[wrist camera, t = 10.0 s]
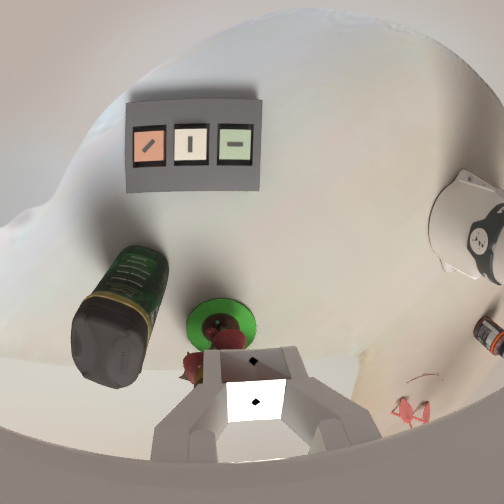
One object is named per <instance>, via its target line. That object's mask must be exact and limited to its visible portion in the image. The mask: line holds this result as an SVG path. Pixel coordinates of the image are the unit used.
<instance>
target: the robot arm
mask: <svg viewBox="0 0 504 504" xmlns="http://www.w3.org/2000/svg"><path fill="white" fill-rule="evenodd" d="M468 178H469V179H468ZM429 238H430V243H431V246H432V248H433V250H434V252H435V253H436V255H437V256H438V257H439V258H440V260H441V263H442V267H443V270H444V271H445V272H447V273H451V272H454V271H457V270H458V271H459V272H461V273H463V274H465V275H467V276H469V277H471V278H473V279H477V278H479V277H482V276H484V277H485V278H486V279H487V280H489V281H490V282H492V283H495V284H497V285H503V286H504V190H502V189H499V188H497V189H496V188H495V187H493V186H492V185H490V184H488V183H487V182H485V181H484V180H482V179H480V178H479V177H477V176H476V175H474V174H472V173H471V172H469V171H467V170H464V169H463V170H461V171H460V172H459V174H458V175H457V177H456V179H455V181H454V182H453V183H452V184H450V185H449V186H448V187H446V188H445V189H444V190H443V191H442V193H441V194H440V195H439V197H438V198H437V200H436V202H435V204H434V207H433V210H432V213H431V217H430V223H429ZM220 357H221V359H220ZM274 418H281V420H282V421H283V422H284V423H285V424H286V425H287V426H288V427H289V428H291V429H292V430H293V431H294V432H295V433H296V434H297V435H298V436H299V437H300V438H301V439H302V440H303V441H305V442H306V443H307V444H308V445H309V446H310V450H309V453H308V455H303V456H296V457H289V458H281V459H272V460H261V461H249V462H231V463H218V456H217V447H216V441H217V440H218V438H219V437H220V435H221V434H222V432H223V431H224V429H225V428H226V426H227V424H228V422H230V421H244V420H254V419H255V420H258V419H274ZM0 504H504V387H503V388H501V389H500V390H498V391H496V392H494V393H492V394H490V395H488V396H486V397H485V398H483V399H481V400H479V401H477V402H475V403H472V404H470V405H468V406H466V407H464V408H462V409H460V410H457V411H455V412H453V413H450V414H448V415H446V416H443V417H441V418H438V419H436V420H433V421H431V422H428V423H426V424H423V425H420V426H417V427H415V428H412V429H409V430H406V431H403V432H400V433H397V434H393V435H390V436H387V437H384V438H382V436H381V434H380V432H379V430H378V428H377V426H376V424H375V423H374V421H373V419H372V417H371V415H370V413H369V411H368V410H366V409H365V408H363V407H361V406H359V405H358V404H356V403H354V402H353V401H351V400H349V399H348V398H346V397H344V396H342V395H341V394H339V393H338V392H336V391H335V390H333V389H331V388H330V387H328V386H327V385H325V384H323V383H322V382H320V381H318V380H317V379H315V378H314V377H310V378H309V377H308V374H307V372H306V369H305V367H304V364H303V362H302V359H301V357H300V354H299V351H298V349H297V347H296V346H287V347H280V348H267V349H236V350H204V364H203V384H198V385H197V386H196V387H195V388H194V389H193V390H192V391H191V392H190V393H189V394H188V395H187V396H186V397H185V398H184V399H183V400H182V401H181V402H180V403H179V404H178V405H177V406H176V407H175V408H174V409H173V410H172V411H171V412H170V413H169V414H168V415H167V416H166V417H165V418H164V419H163V420H162V421H161V422H160V423H159V424H158V425H157V426H156V427H155V430H154V437H153V444H152V451H151V459H150V460H140V459H131V458H124V457H117V456H110V455H104V454H98V453H93V452H88V451H83V450H78V449H74V448H69V447H65V446H61V445H57V444H53V443H50V442H46V441H42V440H39V439H36V438H33V437H30V436H26V435H23V434H20V433H17V432H14V431H12V430H9V429H6V428H4V427H1V426H0Z"/></svg>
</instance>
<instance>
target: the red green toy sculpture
mask: <svg viewBox="0 0 504 504" xmlns="http://www.w3.org/2000/svg"><path fill="white" fill-rule="evenodd" d="M187 334H188V337H189V339H190V341H191V343H192V344H193V345H194V346H195V347H196V348H197V349H198V350H200V351H201V352H196V353H191V354H190V353H189V352H187V356H185V358H184V359H183V364H184V366H183V367H184V368H185V371H184V374H183V375H182V376H181V377H179V378H181V379H185V380H188V381H190V382H191V383H192V384H194V388H195V387H196V386H197V385H198V384H203V364H204V350H236V349H246V348H247V347H248V346H249V345H250V344H251V342H252V341H253V339H254V337H255V334H256V323H255V319H254V316H253V315H252V313H251V312H250V310H249V309H248V308H247V307H245V306H244V305H243V304H241V303H239V302H237V301H234V300H230V299H213V300H209V301H206V302H204V303H202V304H200V305H199V306H198V307H196V308H195V309H194V310H193V311H192V313H191V314H190V316H189V319H188V322H187Z"/></svg>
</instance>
